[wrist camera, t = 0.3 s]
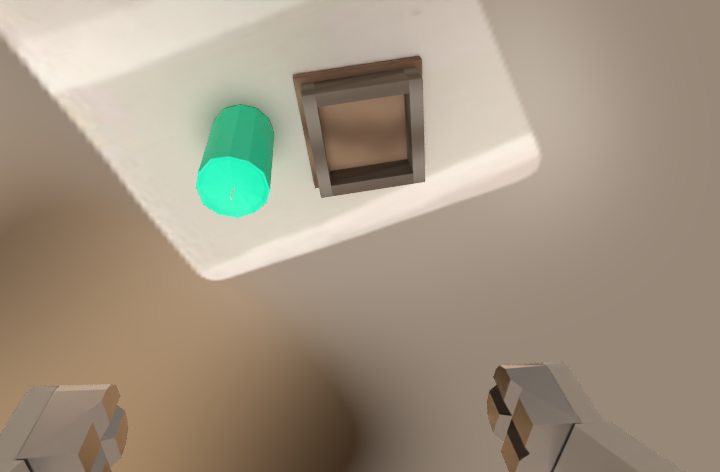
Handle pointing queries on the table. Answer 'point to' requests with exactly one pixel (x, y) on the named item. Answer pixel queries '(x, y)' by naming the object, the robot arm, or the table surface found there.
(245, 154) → the candle
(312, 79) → the holder
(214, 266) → the table surface
